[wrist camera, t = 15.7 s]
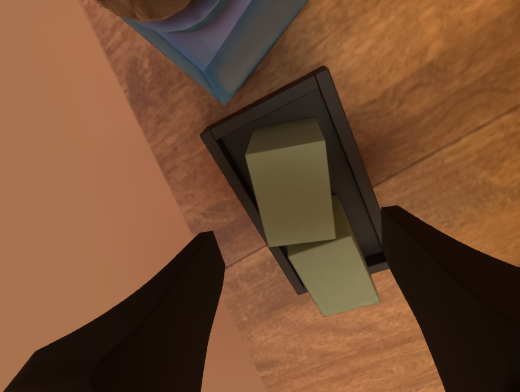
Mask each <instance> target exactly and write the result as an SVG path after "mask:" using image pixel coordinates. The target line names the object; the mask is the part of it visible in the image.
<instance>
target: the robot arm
mask: <svg viewBox="0 0 520 392" xmlns="http://www.w3.org/2000/svg"><path fill="white" fill-rule="evenodd" d="M381 227H382V249H383V252H384V255H385V258H386V260H387V263H388V265H389V268H390V270H391V272H392V274H393V276H394V278H395V280H396V282H397V284H398V286H399V287H400V289H401V291H402V293H403V295H404V297H405V299H406V301H407V303H408V304H409V306H410V308H411V310H412V312H413V314H414V316H415V318H416V320H417V322H418V324H419V326H420V328H421V330H422V333H423V335H424V338H425V340H426V343H427V345H428V348H429V350H430V352H431V355H432V357H433V360H434V363H435V365H436V368H437V370H438V373H439V375H440V378H441V381H442V383H443V386H444V389H445V391H446V392H520V268H519V267H516V266H514V265H511V264H508V263H506V262H503V261H501V260H498V259H496V258H494V257H491V256H489V255H487V254H484V253H482V252H480V251H478V250H475V249H473V248H471V247H469V246H467V245H465V244H463V243H461V242H459V241H457V240H455V239H453V238H451V237H449V236H448V235H446V234H444V233H442V232H440V231H439V230H437V229H435V228H433V227H432V226H430V225H428V224H427V223H425V222H423V221H422V220H420V219H419V218H417V217H415V216H414V215H412V214H411V213H409V212H407V211H406V210H404V209H403V208H401V207H399V206H398V205H396V206H389V207H381ZM224 272H225V263H224V260H223V258H222V255H221V252H220V249H219V247H218V244H217V241H216V238H215V235H214V233H213V231H208V232H201V233H199V234H198V235H197V236H196V237H195V238H194V239H193V240H192V241H191V242H190V243H189V244H188V245H187V246H186V247H185V248H184V249H183V250H182V251H181V252H180V253H179V254H178V255H176V257H175V258H173V259H172V260H171V261H170V262H169V263H168V264H167V265H166V266H165V267H164V268H163V269H162V270H161V271H160V272H158V273H157V274H156V275H155V276H154V277H153V278H152V279H151V280H149V281H148V282H147V283H146V284H145V285H143V286H142V287H141V288H140V289H139V290H137V291H136V292H134V293H133V294H132V295H130V296H129V297H128V298H126V299H125V300H124V301H122V302H120V303H119V304H118V305H116V306H115V307H113V308H112V309H110V310H109V311H108V312H106V313H104V314H103V315H101V316H99V317H98V318H96V319H94V320H93V321H91V322H90V323H88V324H86V325H84V326H83V327H81V328H79V329H77V330H76V331H74V332H72V333H70V334H68V335H66V336H64V337H62V338H60V339H59V340H57V341H55V342H53V343H51V344H49V345H47V346H45V347H43V348H41V349H39V350H37V351H35V352H34V353H33V355H32V356H31V357H30V359H29V360H28V361H27V362H26V364H25V365H24V366H23V367H22V369H21V370H20V371H19V373H18V374H17V375H16V376H15V378H14V379H13V380H12V381H11V383H10V384H9V385H8V387H7V388H6V389H5V390H4V392H201V385H202V377H203V370H204V364H205V358H206V352H207V345H208V341H209V336H210V332H211V328H212V324H213V321H214V317H215V313H216V310H217V306H218V302H219V298H220V295H221V291H222V287H223V280H224Z"/></svg>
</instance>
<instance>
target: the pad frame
mask: <svg viewBox="0 0 520 392" xmlns="http://www.w3.org/2000/svg"><path fill="white" fill-rule="evenodd" d="M310 117H315V118H316V121H317V123H318V125H319V128H320V130H321V132H322V135H323V137H324V139H325V143H326V152H327V161H328V171H329V180H330V189H331V196H334V195H337V196H338V198H339V200H340V203H341V205H342V207H343V210H344V212H345V214H346V216H347V219H348V221H349V223H350V226H351V228H352V230H353V233H354V235H355V237H356V239H357V242H358V244H359V246H360V249H361V251H362V253H363V256H364V259H365V261H366V264H367V267H368V269H369V272H370V274H372V273H376V272H379V271H383V270H386V269H389V265H388V263H387V260H386V258H385V255H384V252H383V249H382V227H381V210H380V208H379V205H378V202H377V200H376V197H375V194H374V191H373V189H372V186H371V183H370V181H369V178H368V175H367V172H366V170H365V167H364V164H363V161H362V159H361V156H360V153H359V151H358V148H357V145H356V142H355V140H354V137H353V134H352V131H351V129H350V126H349V123H348V121H347V118H346V115H345V112H344V110H343V107H342V104H341V102H340V99H339V96H338V93H337V91H336V88H335V85H334V82H333V80H332V77H331V74H330V72H329V69H328V68H327V67H325V66H322V67H320V68H318V69H316V70H314V71H312V72H311V73H309V74H307V75H305V76H303V77H301V78H299V79H297V80H295V81H294V82H292V83H290V84H288V85H286V86H284V87H282V88H280V89H278V90H276V91H275V92H273V93H271V94H269V95H267V96H265V97H263V98H261V99H259V100H258V101H256V102H254V103H252V104H250V105H248V106H246V107H244V108H242V109H240V110H239V111H237V112H235V113H233V114H231V115H229V116H227V117H225V118H223V119H222V120H220V121H218V122H216V123H214V124H212V125H210V126H208V127H206V128H205V130H204V131H203V132H202V133H201V134H200V137H201V139H202V140H203V142H204V144H205V145H206V147H207V148H208V150H209V152H210V153H211V155H212V157H213V158H214V160H215V161H216V163H217V165H218V166H219V168H220V170H221V171H222V173H223V174H224V176H225V178H226V179H227V181H228V182H229V184H230V186H231V187H232V189H233V191H234V192H235V194H236V195H237V197H238V199H239V200H240V202H241V204H242V205H243V207H244V208H245V210H246V212H247V213H248V215H249V217H250V218H251V220H252V221H253V223H254V225H255V226H256V228H257V229H258V231H259V233H260V234H261V236H262V238H263V239H264V241H265V242H266V244H267V246H268V243H267V239H266V235H265V232H264V228H263V224H262V220H261V216H260V212H259V208H258V204H257V200H256V196H255V192H254V188H253V184H252V180H251V177H250V173H249V169H248V165H247V161H246V157H245V154H246V151H247V148H248V145H249V142H250V140H251V137H252V134H253V131H254V129H255V128H259V127H264V126H269V125H274V124H280V123H285V122H290V121H295V120H300V119H305V118H310ZM269 249H270V251H271V252H272V254H273V255H274V257H275V259H276V260H277V262H278V264H279V265H280V267H281V268H282V270H283V272H284V273H285V275H286V276H287V278H288V280H289V281H290V283H291V285H292V286H293V288H294V289H295V291H296V293H297V294H298V295H300V294H304V293H306V292H307V293H308V290H307V288H306V287H305V285H304V283H303V282H302V280H301V278H300V277H299V275H298V273H297V272H296V270H295V268H294V266H293V265H292V263H291V261H290V260H289V258H288V245H282V246H274V247H269Z"/></svg>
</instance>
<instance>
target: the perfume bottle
mask: <svg viewBox="0 0 520 392" xmlns="http://www.w3.org/2000/svg"><path fill="white" fill-rule="evenodd" d="M307 1H308V0H95V2H97V3H99V4H100V5H102V6H103V7H105V8H106V9H108V10H110V11H111V12H113V13H114V14H116V15H117V16H119V17H121V18H122V19H123V20H124V21H125V22H126V23H128V24H129V25H130V26H131V27H132V28H134V29H135V30H136V31H137V32H138V33H139V34H141V35H142V36H143V37H144V38H145V39H146V40H148V41H149V42H150V43H151V44H152V45H154V46H155V47H156V48H157V49H158V50H159V51H161V52H162V53H163V54H164V55H165V56H166V57H168V58H169V59H170V60H171V61H172V62H174V63H175V64H176V65H177V66H178V67H179V68H181V69H182V70H183V71H184V72H185V73H186V74H188V75H189V76H190V77H191V78H192V79H194V80H195V81H196V82H197V83H198V84H199V85H201V86H202V87H203V88H204V89H205V90H207V91H208V92H209V93H210V94H211V95H212V96H214V97H215V98H216V99H217V100H218V101H219V102H221V103H222V104H223V105H225V104H226V103H227V102H228V101H229V100H230V99H231V98H232V97H233V95H234V94H235V93H236V92H237V91H238V90H239V89H240V88H241V87H242V86H243V85H244V83H245V82H246V81H247V80H248V78H249V77H250V76H251V74H252V73H253V72H254V70H255V69H256V68H257V66H258V65H259V64H260V62H261V61H262V60H263V59H264V57H265V56H266V55H267V53H268V52H269V51H270V49H271V48H272V47H273V45H274V44H275V43H276V41H277V40H278V39H279V37H280V36H281V35H282V34H283V32H284V31H285V30H286V28H287V27H288V26H289V24H290V23H291V22H292V20H293V19H294V18H295V16H296V15H297V14H298V13H299V11H300V10H301V9H302V7H303V6H304V5H305V3H306V2H307Z"/></svg>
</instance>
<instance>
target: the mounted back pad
mask: <svg viewBox="0 0 520 392" xmlns="http://www.w3.org/2000/svg"><path fill="white" fill-rule="evenodd" d="M331 198H332V207H333V216H334V225H335V234H336V239H331V240H323V241H315V242H307V243H299V244H291V245H288V258H289V260H290V261H291V263H292V265H293V266H294V268H295V270H296V272H297V273H298V275H299V277H300V278H301V280H302V282H303V283H304V285H305V287H306V288H307V290H308V292H309V294H310V295H311V297H312V299H313V300H314V302H315V304H316V305H317V307H318V309H319V311H320V312H321V314H322V316H323V317H326V316H330V315H334V314H338V313H341V312H345V311H349V310H353V309H357V308H361V307H364V306H368V305H372V304H376V303H380V298H379V296H378V293H377V291H376V288H375V285H374V283H373V280H372V277H371V275H370V272H369V269H368V267H367V264H366V261H365V259H364V256H363V253H362V251H361V249H360V246H359V244H358V242H357V239H356V237H355V235H354V233H353V230H352V228H351V226H350V223H349V221H348V219H347V216H346V214H345V212H344V210H343V207H342V205H341V203H340V200H339V198H338V196H337V195H334V196H331Z"/></svg>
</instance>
